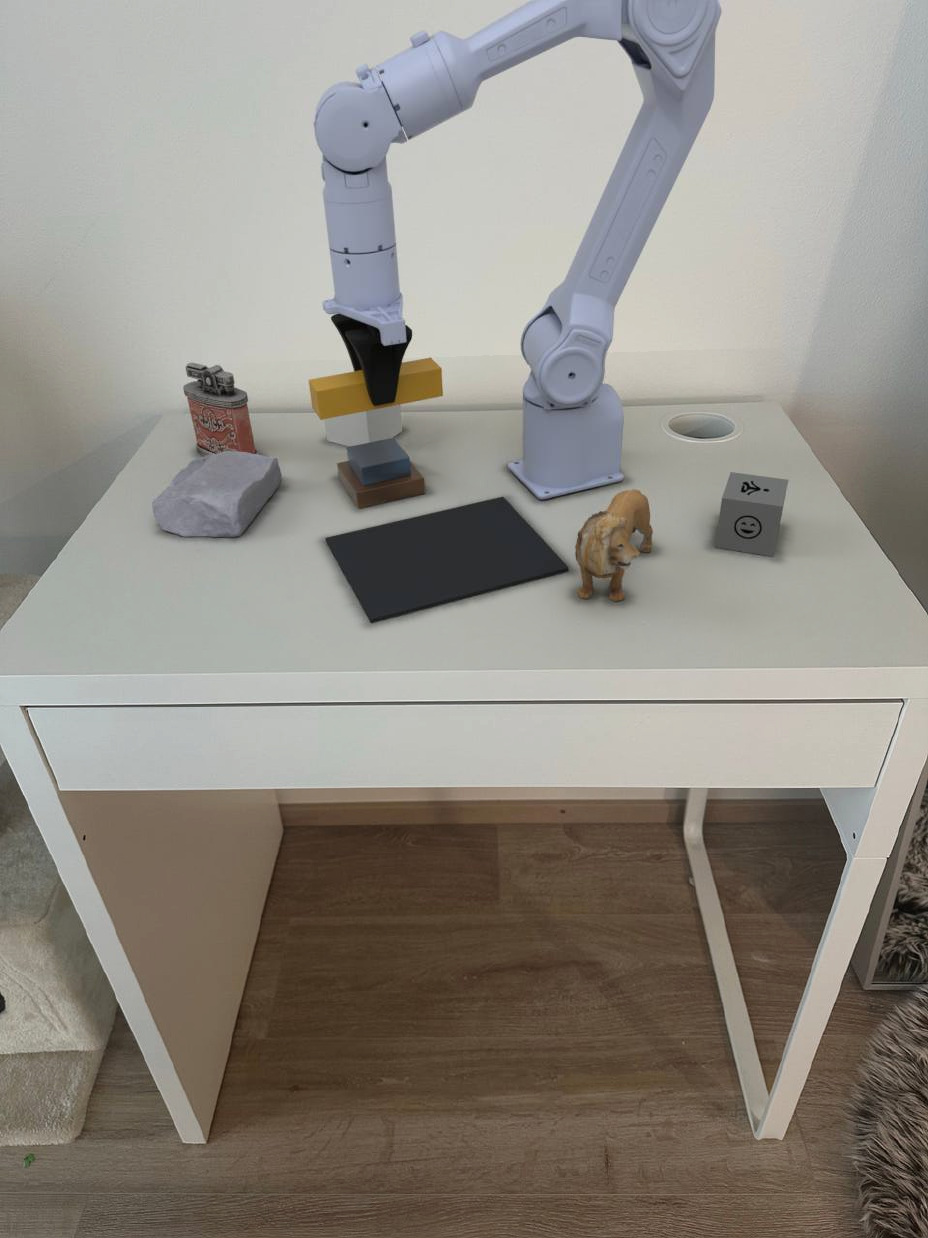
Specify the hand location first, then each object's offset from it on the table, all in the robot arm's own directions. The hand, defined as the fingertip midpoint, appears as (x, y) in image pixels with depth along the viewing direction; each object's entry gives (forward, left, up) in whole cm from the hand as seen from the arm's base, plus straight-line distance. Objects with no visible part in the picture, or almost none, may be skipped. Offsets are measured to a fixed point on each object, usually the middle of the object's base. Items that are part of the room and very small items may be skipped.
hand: (377, 395), depth 88 cm
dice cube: (-27, +23, -10) cm, 37 cm away
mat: (-1, +14, -10) cm, 17 cm away
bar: (0, 0, -1) cm, 1 cm away
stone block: (+16, -5, -10) cm, 20 cm away
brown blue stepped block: (0, -1, -10) cm, 10 cm away
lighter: (+13, -15, -10) cm, 23 cm away
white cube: (-2, -13, -10) cm, 17 cm away
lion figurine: (-13, +24, -10) cm, 29 cm away
